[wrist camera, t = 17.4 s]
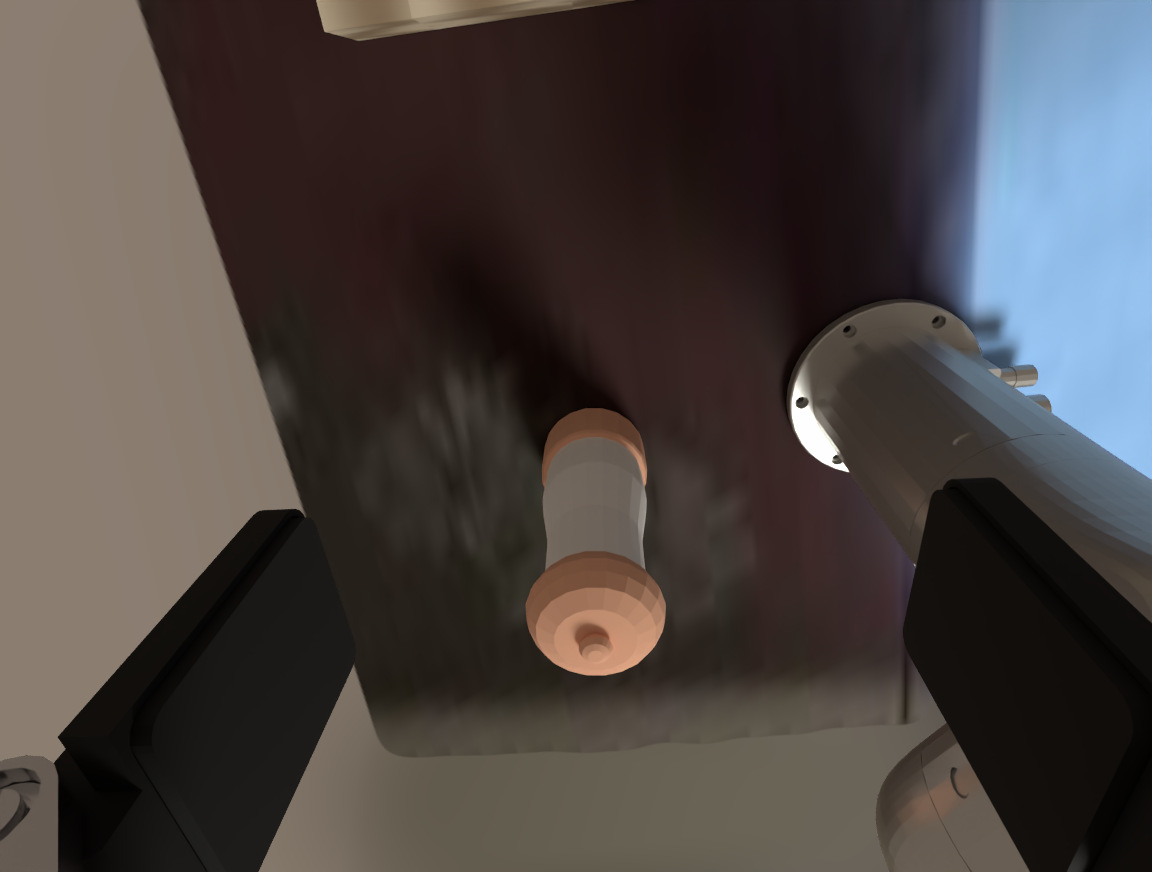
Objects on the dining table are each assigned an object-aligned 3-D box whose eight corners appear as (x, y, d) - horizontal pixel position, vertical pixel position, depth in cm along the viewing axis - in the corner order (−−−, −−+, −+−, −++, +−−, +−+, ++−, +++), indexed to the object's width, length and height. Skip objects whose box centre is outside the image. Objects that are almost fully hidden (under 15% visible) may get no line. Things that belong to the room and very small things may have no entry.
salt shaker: (637, 400, 44) (666, 588, 27) (649, 486, 47) (681, 701, 30) (535, 415, 44) (501, 607, 28) (554, 499, 48) (535, 715, 31)
